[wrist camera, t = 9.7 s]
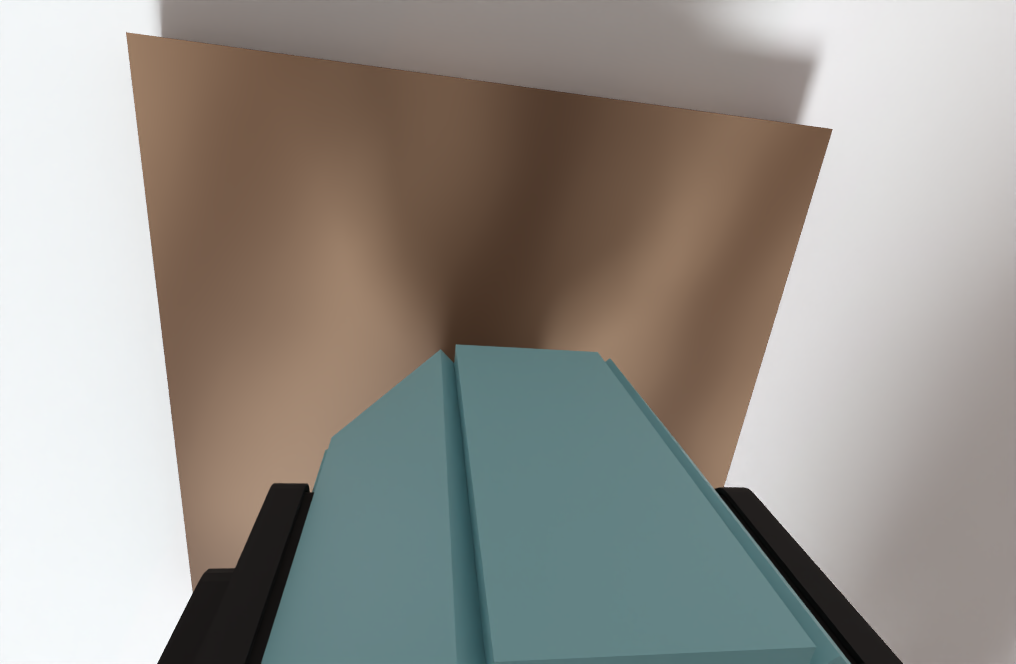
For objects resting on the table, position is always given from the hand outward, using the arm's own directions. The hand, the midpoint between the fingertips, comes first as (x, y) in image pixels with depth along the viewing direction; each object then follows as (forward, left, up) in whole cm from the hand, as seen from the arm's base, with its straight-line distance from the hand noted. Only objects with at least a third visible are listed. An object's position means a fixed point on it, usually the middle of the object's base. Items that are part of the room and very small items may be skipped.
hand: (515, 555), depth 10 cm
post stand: (0, 0, -7) cm, 7 cm away
